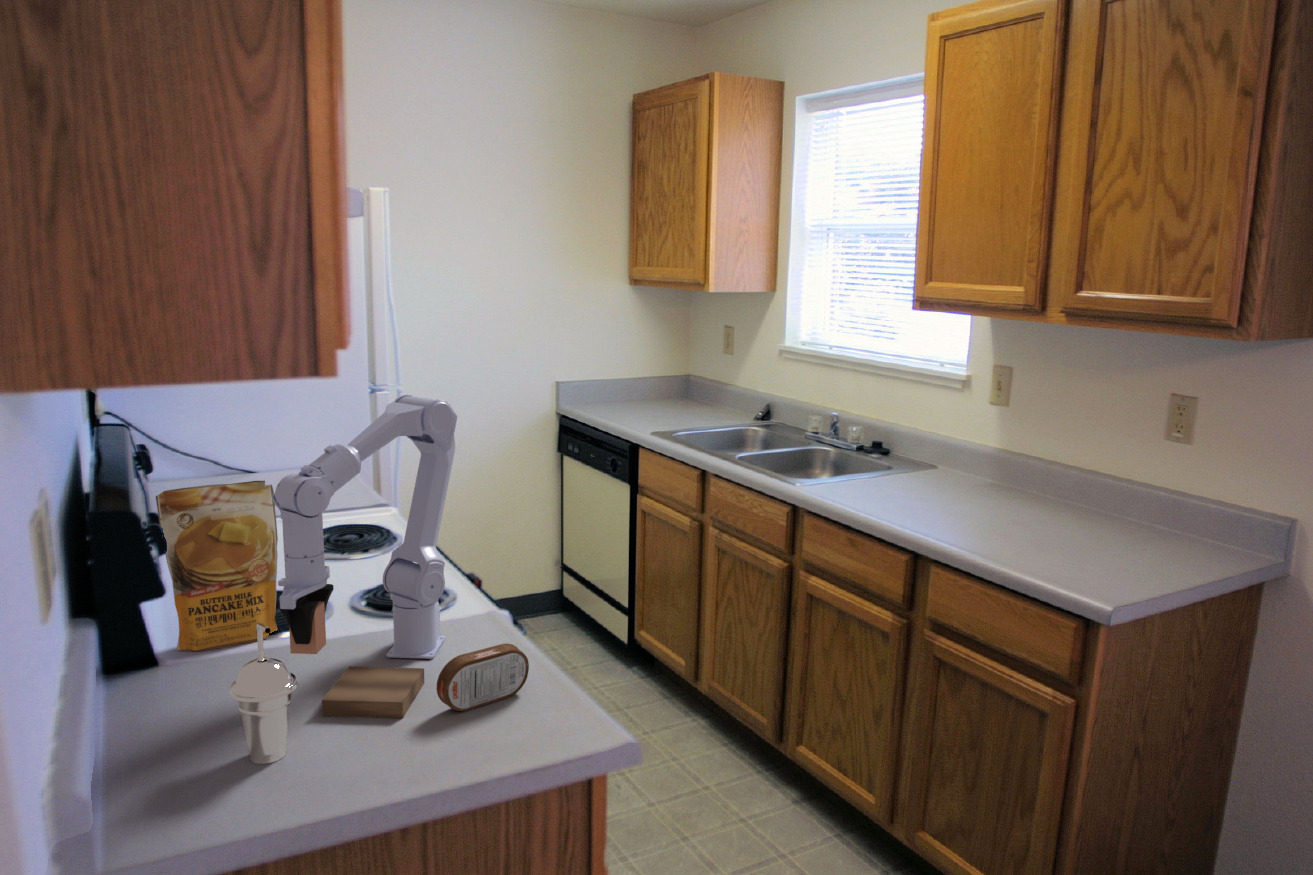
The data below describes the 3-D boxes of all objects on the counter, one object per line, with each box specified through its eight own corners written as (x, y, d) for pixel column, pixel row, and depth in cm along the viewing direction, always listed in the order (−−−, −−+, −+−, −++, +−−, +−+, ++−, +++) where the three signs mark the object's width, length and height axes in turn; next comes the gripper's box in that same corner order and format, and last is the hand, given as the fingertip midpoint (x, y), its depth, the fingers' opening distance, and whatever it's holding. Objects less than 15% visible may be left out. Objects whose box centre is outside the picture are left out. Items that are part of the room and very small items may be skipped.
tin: (521, 685, 152) (521, 636, 150) (532, 692, 150) (531, 642, 148) (435, 712, 142) (434, 659, 141) (445, 720, 140) (444, 666, 138)
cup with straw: (307, 738, 134) (301, 603, 130) (291, 772, 125) (283, 628, 121) (244, 741, 133) (236, 605, 129) (223, 775, 124) (213, 630, 120)
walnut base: (350, 680, 152) (349, 666, 152) (424, 682, 152) (424, 668, 152) (322, 715, 141) (321, 699, 140) (402, 717, 140) (402, 702, 140)
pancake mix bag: (165, 644, 165) (153, 487, 160) (280, 624, 176) (272, 476, 171) (169, 657, 160) (157, 496, 155) (288, 636, 170) (280, 483, 165)
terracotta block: (301, 643, 149) (298, 600, 148) (326, 643, 149) (324, 601, 148) (290, 653, 145) (288, 609, 144) (316, 654, 145) (314, 610, 144)
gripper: (297, 538, 152) (301, 619, 154) (257, 566, 137) (262, 655, 140) (341, 539, 152) (344, 620, 154) (305, 568, 137) (309, 656, 140)
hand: (308, 637), depth 147 cm, fingers closed on terracotta block, 4 cm apart
